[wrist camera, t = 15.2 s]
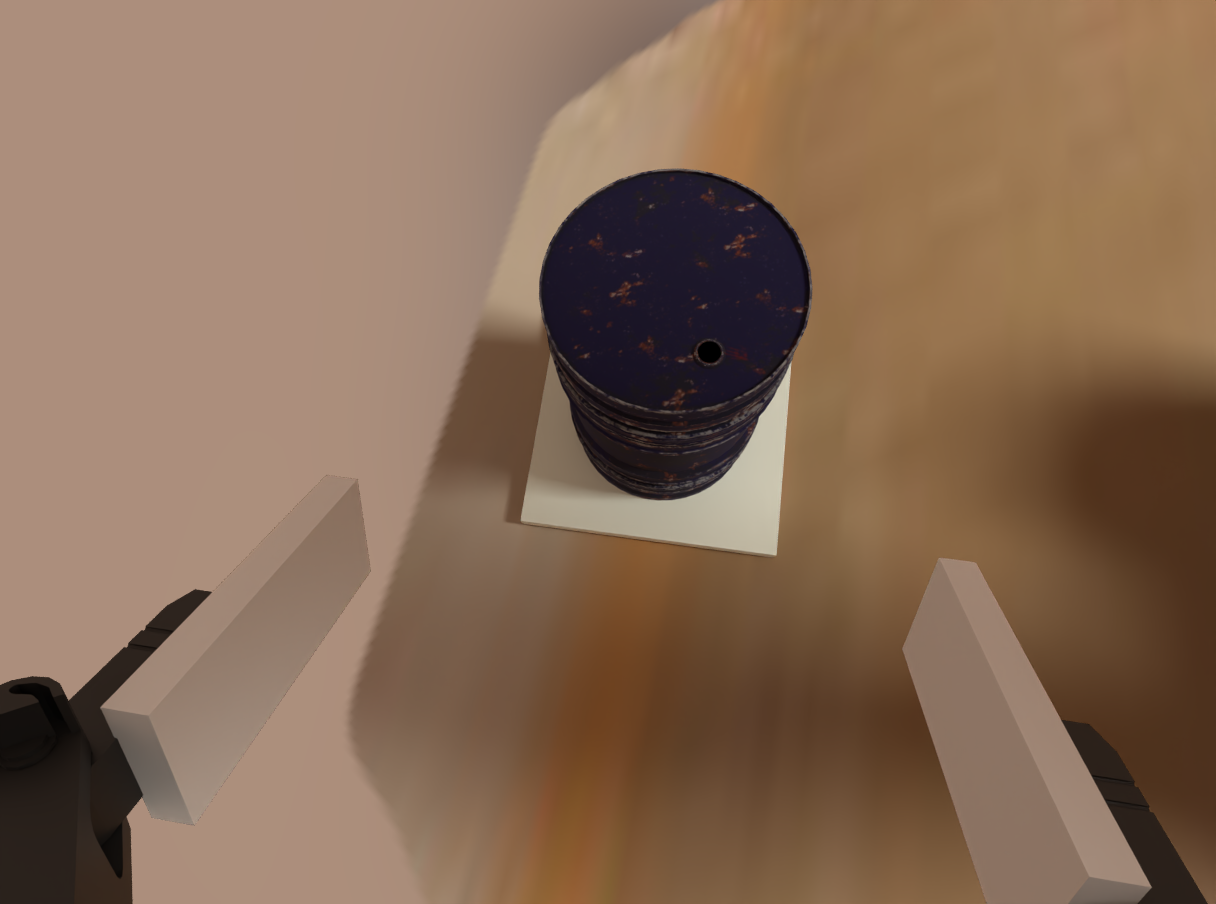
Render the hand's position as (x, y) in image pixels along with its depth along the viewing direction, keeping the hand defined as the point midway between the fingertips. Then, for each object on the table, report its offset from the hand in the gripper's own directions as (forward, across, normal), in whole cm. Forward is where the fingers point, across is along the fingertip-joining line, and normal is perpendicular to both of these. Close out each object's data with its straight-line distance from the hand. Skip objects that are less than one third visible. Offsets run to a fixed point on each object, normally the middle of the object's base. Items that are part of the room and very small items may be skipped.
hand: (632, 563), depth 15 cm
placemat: (+23, 0, -8) cm, 24 cm away
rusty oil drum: (+22, 0, -7) cm, 23 cm away
